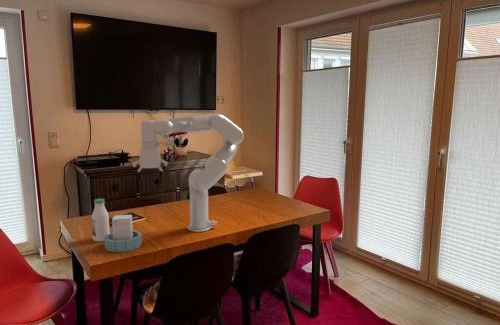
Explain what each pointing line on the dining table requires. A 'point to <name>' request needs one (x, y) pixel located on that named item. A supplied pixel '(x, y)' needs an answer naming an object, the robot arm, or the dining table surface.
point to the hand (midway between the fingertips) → (150, 179)
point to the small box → (122, 227)
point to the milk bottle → (100, 221)
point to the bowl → (123, 243)
